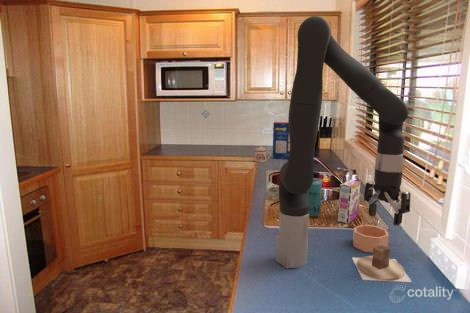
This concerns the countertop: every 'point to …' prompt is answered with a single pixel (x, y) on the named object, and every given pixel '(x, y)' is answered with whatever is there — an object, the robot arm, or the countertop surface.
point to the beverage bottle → (315, 195)
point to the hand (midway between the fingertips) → (384, 220)
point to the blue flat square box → (281, 140)
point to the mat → (365, 277)
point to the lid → (380, 265)
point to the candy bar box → (348, 201)
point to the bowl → (369, 237)
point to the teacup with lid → (261, 154)
